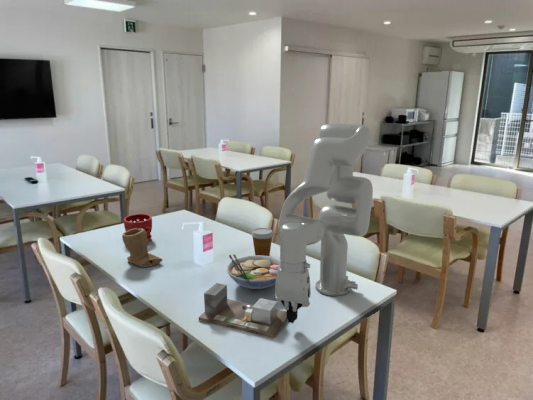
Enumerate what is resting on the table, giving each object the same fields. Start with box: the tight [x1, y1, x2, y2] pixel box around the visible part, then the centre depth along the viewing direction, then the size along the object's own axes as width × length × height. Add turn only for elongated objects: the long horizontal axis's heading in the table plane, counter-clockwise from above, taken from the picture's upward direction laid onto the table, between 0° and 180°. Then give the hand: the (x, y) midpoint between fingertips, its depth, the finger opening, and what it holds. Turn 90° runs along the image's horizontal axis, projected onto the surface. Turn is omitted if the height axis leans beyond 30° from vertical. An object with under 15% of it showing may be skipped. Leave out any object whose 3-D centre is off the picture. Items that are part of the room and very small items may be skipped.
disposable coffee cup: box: [251, 227, 274, 256], centre depth 180 cm, size 10×10×12 cm
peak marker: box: [242, 308, 252, 322], centre depth 127 cm, size 2×5×3 cm, turn 157°
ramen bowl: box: [226, 254, 280, 290], centre depth 154 cm, size 25×23×8 cm
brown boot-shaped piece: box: [121, 228, 163, 268], centre depth 173 cm, size 15×12×15 cm
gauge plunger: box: [242, 297, 278, 325], centre depth 129 cm, size 10×6×5 cm, turn 67°
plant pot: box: [123, 213, 153, 242], centre depth 200 cm, size 13×13×12 cm
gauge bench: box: [198, 282, 288, 339], centre depth 131 cm, size 26×14×8 cm, turn 67°
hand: (291, 320), depth 125 cm, fingers closed
